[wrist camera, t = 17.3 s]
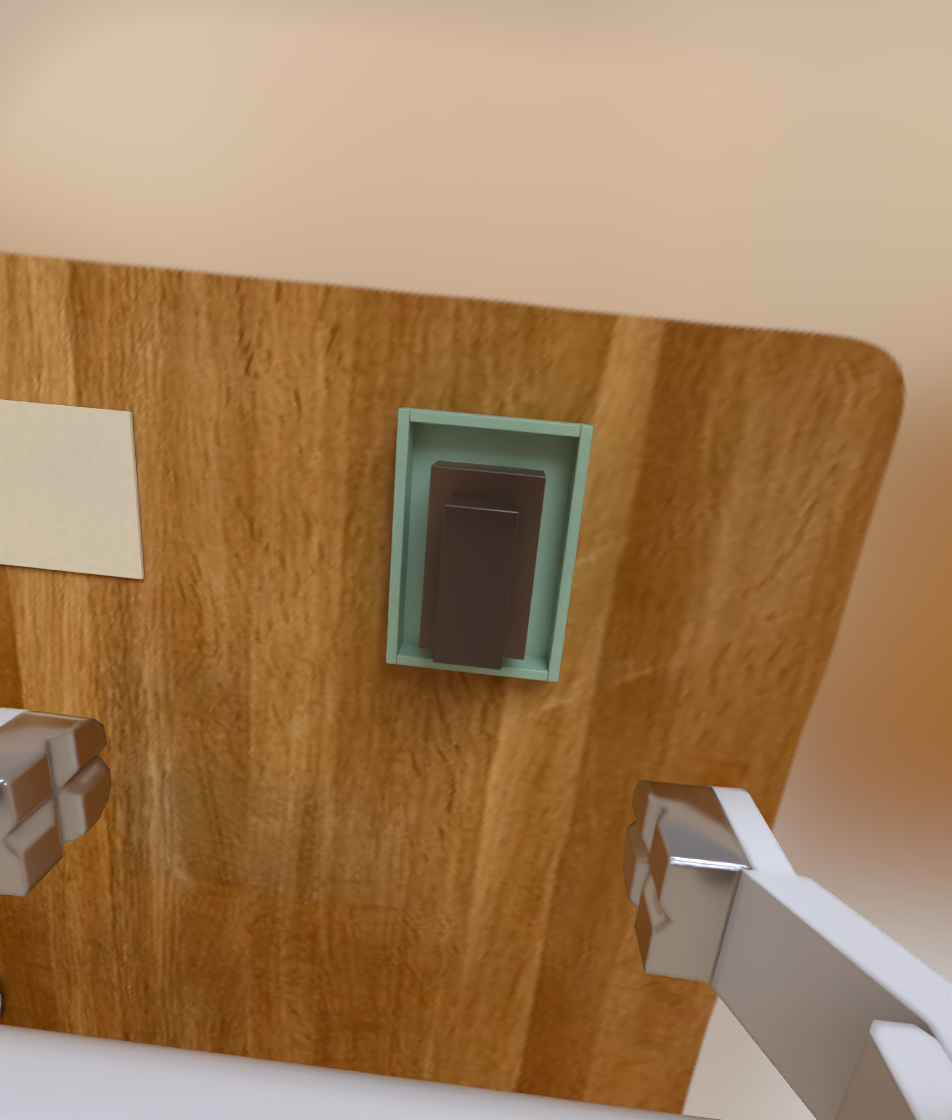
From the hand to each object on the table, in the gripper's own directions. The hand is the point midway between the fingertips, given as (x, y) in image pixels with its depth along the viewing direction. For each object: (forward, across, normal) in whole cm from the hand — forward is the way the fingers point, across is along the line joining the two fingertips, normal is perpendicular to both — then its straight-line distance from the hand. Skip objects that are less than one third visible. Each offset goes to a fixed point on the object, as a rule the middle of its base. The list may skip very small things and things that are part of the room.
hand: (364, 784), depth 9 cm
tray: (+19, -1, +1) cm, 19 cm away
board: (+19, +22, 0) cm, 29 cm away
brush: (+18, -1, +1) cm, 18 cm away
